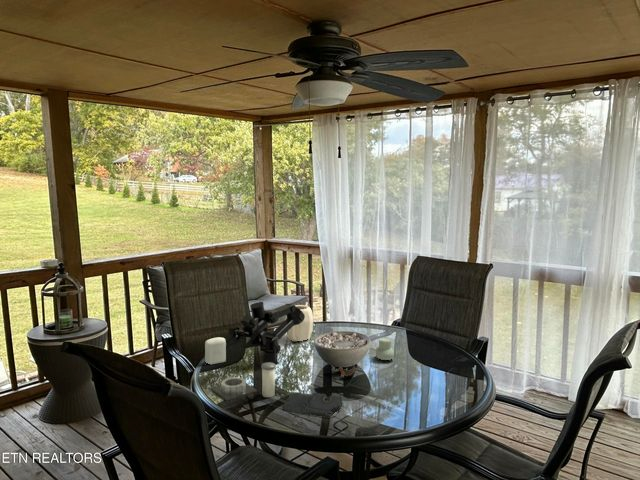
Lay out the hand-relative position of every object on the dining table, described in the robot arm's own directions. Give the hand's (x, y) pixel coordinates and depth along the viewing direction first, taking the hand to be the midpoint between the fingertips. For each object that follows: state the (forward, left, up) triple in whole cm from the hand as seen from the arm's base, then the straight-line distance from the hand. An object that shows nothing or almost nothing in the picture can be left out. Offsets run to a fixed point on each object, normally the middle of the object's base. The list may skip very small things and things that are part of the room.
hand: (235, 345), depth 192 cm
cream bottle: (-4, +20, -16) cm, 26 cm away
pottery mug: (-42, +23, -17) cm, 51 cm away
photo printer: (-4, -27, -16) cm, 32 cm away
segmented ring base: (+5, +7, -16) cm, 18 cm away
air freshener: (-72, +22, -17) cm, 77 cm away
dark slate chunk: (-12, +39, -17) cm, 44 cm away
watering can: (-59, -31, -16) cm, 69 cm away
